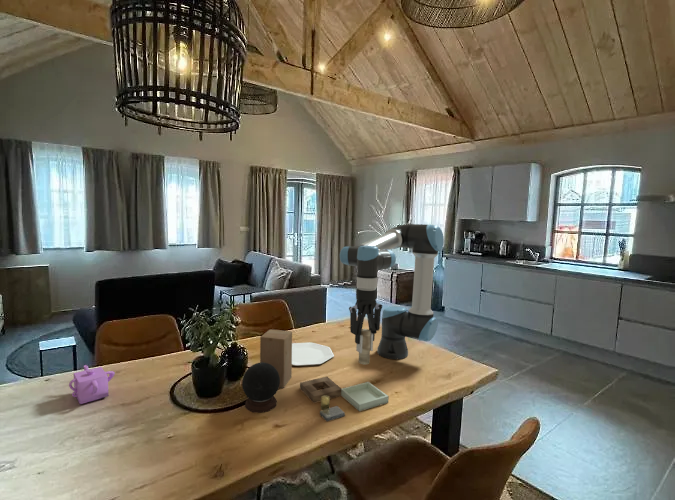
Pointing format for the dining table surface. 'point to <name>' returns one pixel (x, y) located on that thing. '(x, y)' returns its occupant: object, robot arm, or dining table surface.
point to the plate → (310, 354)
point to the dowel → (365, 347)
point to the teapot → (90, 384)
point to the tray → (364, 396)
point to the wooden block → (278, 353)
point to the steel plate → (332, 413)
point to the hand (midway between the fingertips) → (364, 350)
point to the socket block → (312, 386)
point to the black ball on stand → (261, 387)
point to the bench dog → (325, 402)
